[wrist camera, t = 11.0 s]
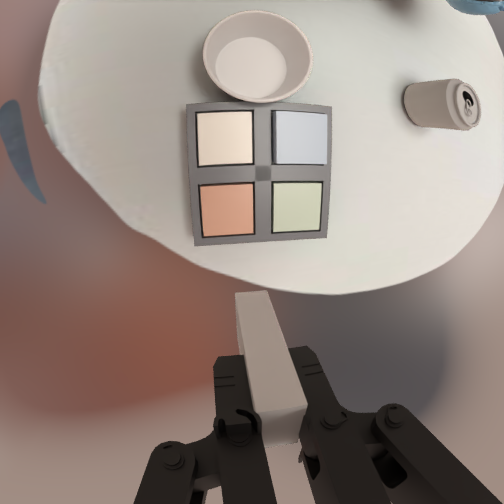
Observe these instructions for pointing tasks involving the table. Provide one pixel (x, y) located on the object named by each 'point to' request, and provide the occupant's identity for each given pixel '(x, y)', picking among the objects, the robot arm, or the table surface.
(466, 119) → the can
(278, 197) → the key
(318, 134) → the key
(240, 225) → the key
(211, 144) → the key
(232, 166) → the keypad
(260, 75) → the food container
